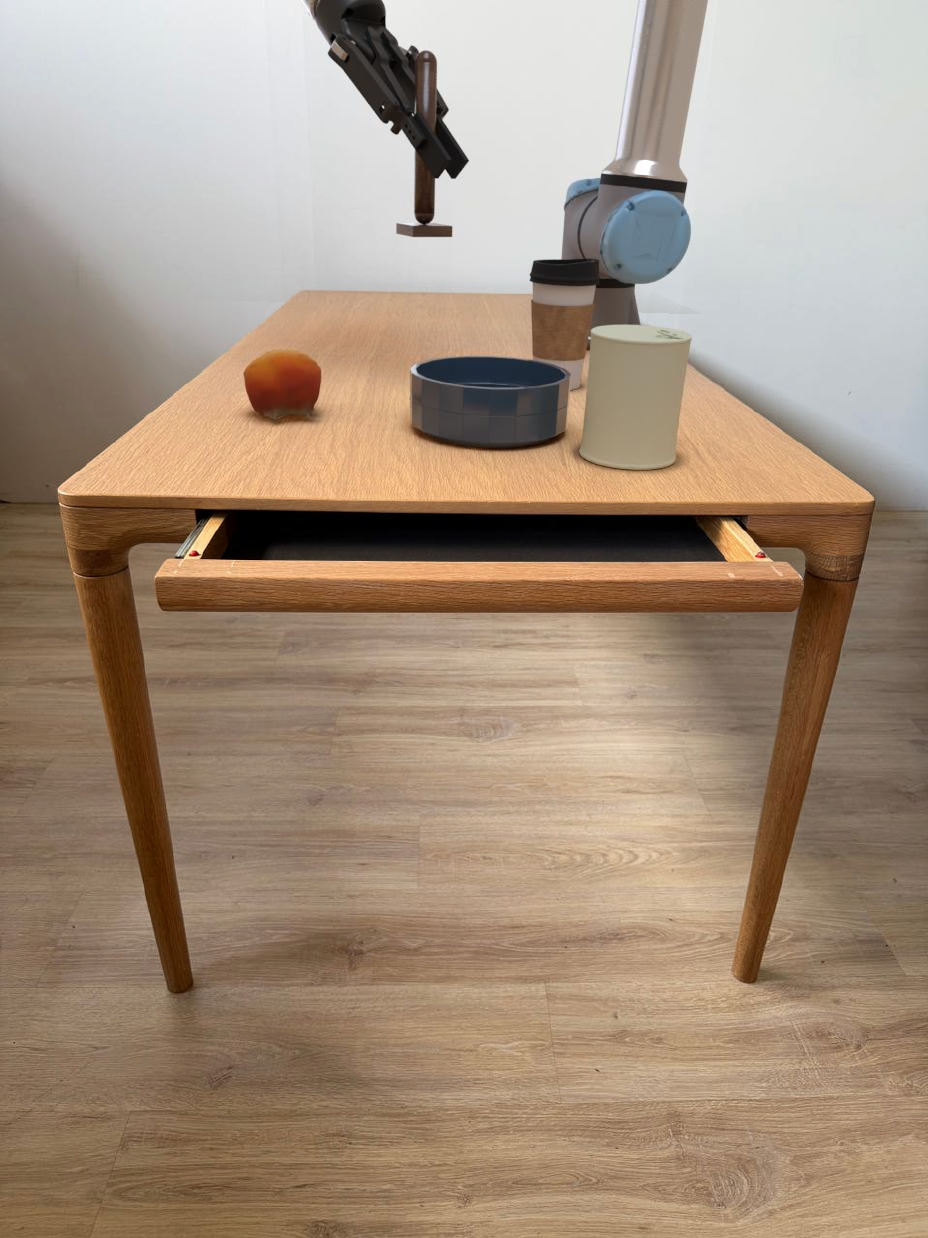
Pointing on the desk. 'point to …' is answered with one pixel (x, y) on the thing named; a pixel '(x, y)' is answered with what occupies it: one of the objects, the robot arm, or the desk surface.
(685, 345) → the can
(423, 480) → the desk surface
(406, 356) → the desk surface
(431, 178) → the stick
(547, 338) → the coffee cup
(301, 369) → the fruit
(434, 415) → the bowl
